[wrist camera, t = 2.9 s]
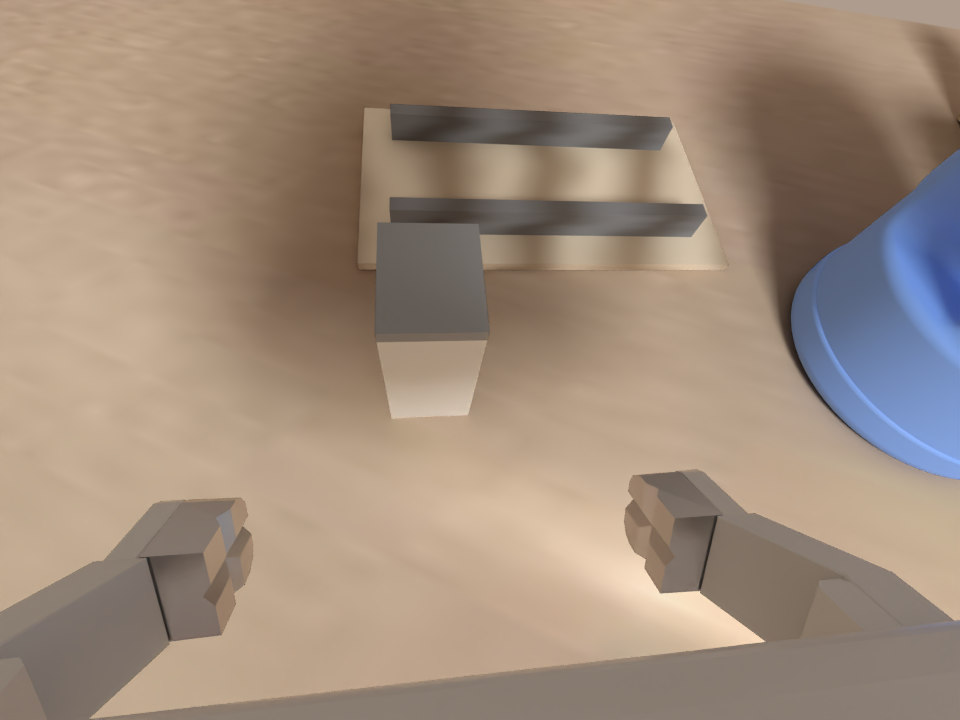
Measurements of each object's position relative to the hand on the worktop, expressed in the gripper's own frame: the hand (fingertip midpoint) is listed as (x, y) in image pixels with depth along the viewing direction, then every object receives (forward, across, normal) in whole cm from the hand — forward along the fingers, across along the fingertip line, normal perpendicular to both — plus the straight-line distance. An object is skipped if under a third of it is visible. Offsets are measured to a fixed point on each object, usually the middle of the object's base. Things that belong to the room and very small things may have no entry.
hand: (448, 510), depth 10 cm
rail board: (+25, -8, -7) cm, 27 cm away
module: (+15, 0, +3) cm, 16 cm away
